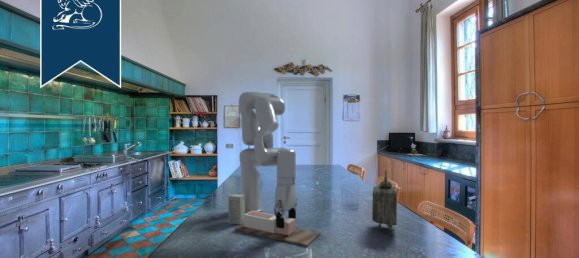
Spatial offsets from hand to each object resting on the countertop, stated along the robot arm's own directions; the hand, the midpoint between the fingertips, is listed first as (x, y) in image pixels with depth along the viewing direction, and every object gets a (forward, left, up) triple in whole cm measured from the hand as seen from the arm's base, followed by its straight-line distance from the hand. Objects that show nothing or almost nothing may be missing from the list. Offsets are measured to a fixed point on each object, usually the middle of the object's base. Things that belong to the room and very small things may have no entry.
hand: (286, 223), depth 105 cm
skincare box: (-26, +1, -5) cm, 26 cm away
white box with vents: (-11, 0, -4) cm, 12 cm away
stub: (-1, 0, -3) cm, 3 cm away
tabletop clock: (+33, +25, -5) cm, 42 cm away
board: (-5, 0, -4) cm, 6 cm away
